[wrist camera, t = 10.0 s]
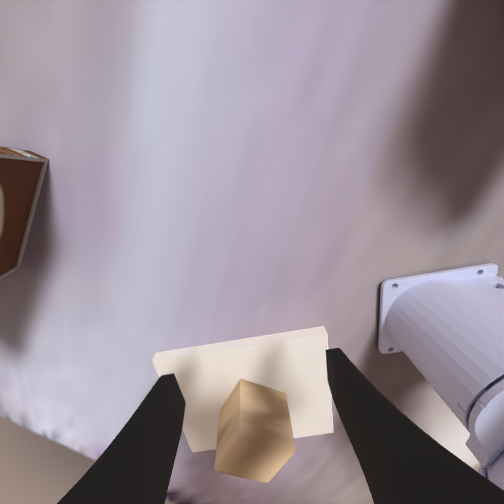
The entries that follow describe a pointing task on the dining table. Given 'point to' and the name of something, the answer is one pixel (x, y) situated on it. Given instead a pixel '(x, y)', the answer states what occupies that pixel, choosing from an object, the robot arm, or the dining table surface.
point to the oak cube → (254, 433)
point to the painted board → (252, 380)
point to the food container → (17, 202)
